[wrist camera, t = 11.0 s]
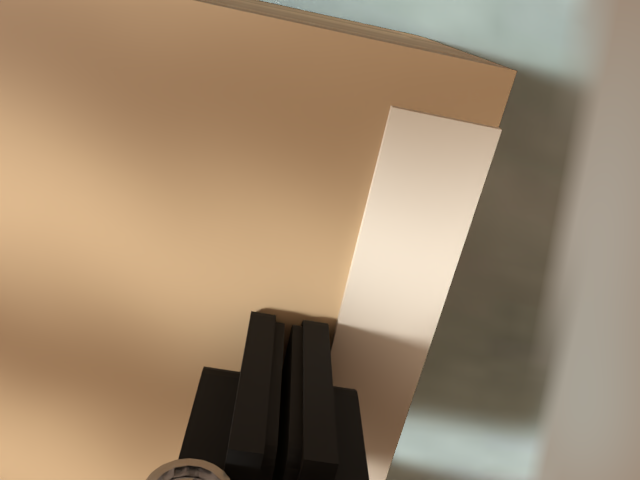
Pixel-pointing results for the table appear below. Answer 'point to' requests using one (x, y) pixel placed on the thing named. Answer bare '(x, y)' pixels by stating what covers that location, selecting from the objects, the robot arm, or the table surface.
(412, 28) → the table surface
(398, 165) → the lid
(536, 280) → the table surface
